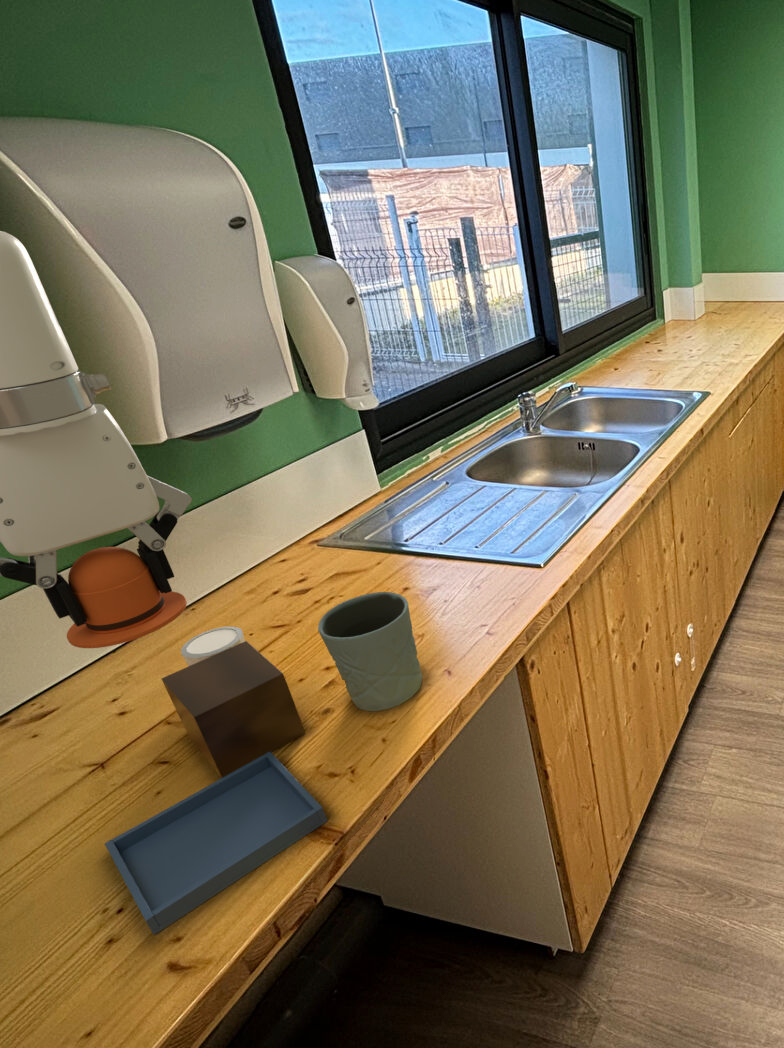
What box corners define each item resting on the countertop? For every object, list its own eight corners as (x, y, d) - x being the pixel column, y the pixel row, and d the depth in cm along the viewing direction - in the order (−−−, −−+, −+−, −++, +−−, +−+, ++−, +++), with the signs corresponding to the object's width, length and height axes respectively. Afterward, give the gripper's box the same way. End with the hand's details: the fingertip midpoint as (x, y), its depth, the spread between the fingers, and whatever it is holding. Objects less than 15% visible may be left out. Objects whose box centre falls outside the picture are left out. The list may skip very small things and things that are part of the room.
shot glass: (186, 695, 92) (166, 652, 89) (233, 664, 98) (216, 622, 95) (226, 704, 90) (207, 660, 87) (271, 671, 96) (255, 629, 93)
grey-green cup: (442, 669, 95) (423, 594, 90) (398, 721, 86) (374, 640, 81) (376, 663, 97) (353, 589, 92) (326, 713, 88) (298, 634, 83)
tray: (154, 935, 62) (145, 920, 61) (112, 857, 70) (104, 843, 69) (328, 821, 72) (322, 807, 72) (275, 764, 80) (269, 751, 79)
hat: (82, 661, 56) (43, 586, 54) (57, 626, 61) (20, 557, 58) (200, 613, 62) (171, 544, 59) (169, 585, 67) (141, 520, 64)
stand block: (222, 779, 78) (194, 717, 74) (189, 737, 85) (161, 678, 81) (305, 733, 85) (283, 673, 81) (268, 697, 91) (246, 640, 87)
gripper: (144, 372, 62) (216, 552, 69) (-144, 425, 50) (-19, 636, 57) (173, 383, 57) (246, 574, 65) (-135, 445, 45) (-1, 670, 53)
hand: (121, 601), depth 61 cm, fingers closed on hat, 5 cm apart
